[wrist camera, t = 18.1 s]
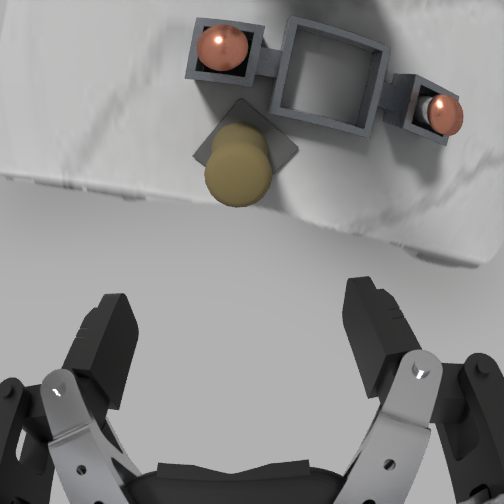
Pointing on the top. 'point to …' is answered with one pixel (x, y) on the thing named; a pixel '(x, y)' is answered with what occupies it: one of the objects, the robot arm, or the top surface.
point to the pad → (276, 140)
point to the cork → (238, 165)
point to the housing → (376, 94)
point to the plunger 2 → (439, 113)
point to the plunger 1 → (222, 47)
